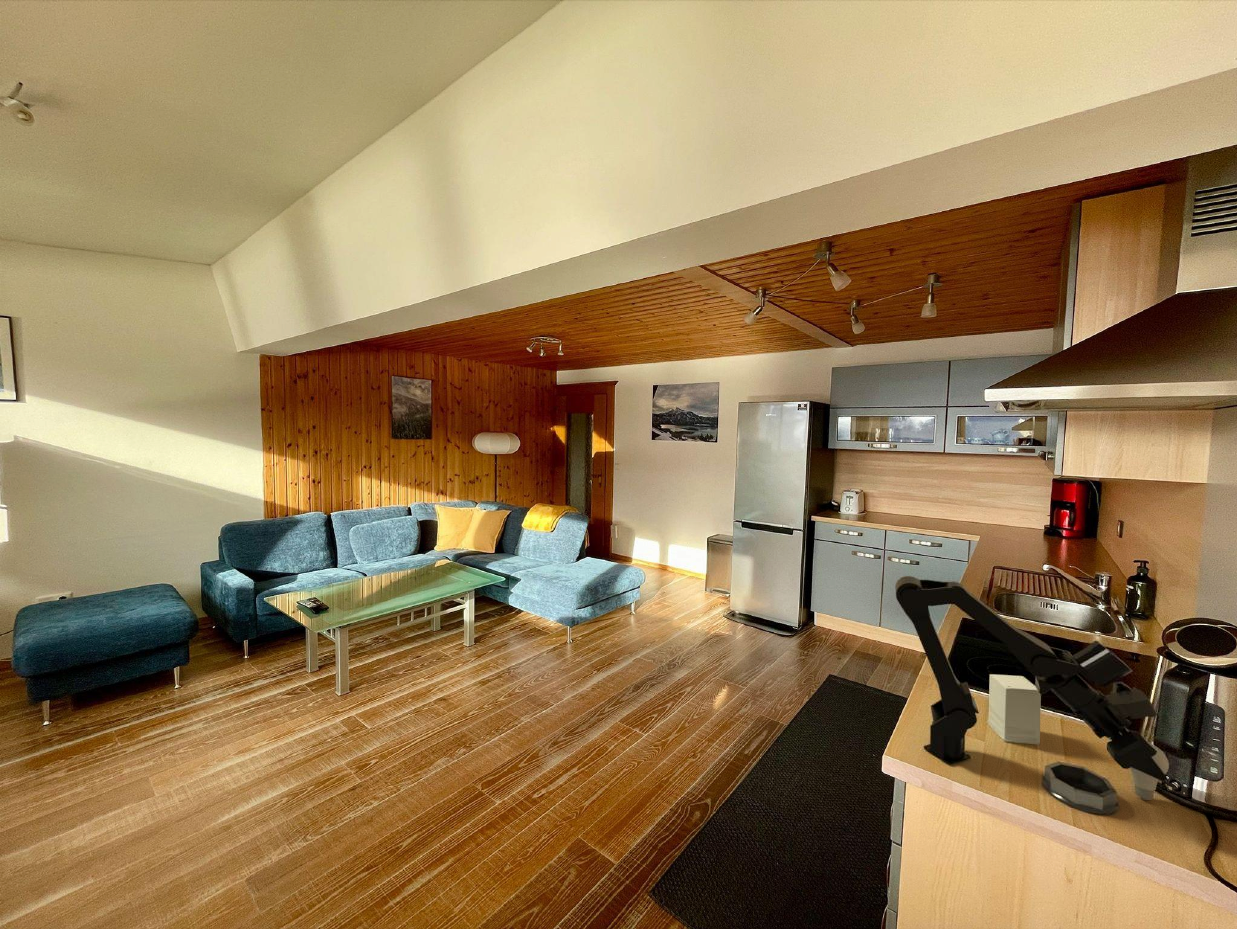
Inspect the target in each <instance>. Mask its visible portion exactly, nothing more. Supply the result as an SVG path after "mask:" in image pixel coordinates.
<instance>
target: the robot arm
mask: <svg viewBox="0 0 1237 929" xmlns="http://www.w3.org/2000/svg"><path fill="white" fill-rule="evenodd" d="M894 589H895V590H894V591H895V598H896V601H897V602H898V604H899V606H900V607H901V609H902V610H903V612H904V613H905V615H906V616H907V618H908V619H909V620H910V621H911V623H912V625H913V627H914V629H915V630H916V631H915V632H916V634H917V636H918V638H919V639H918V640H919V641H920V643H921V645H922V646H921V647H922V648H923V651H924V654H925V655H926V658H927V660H928V663H929V666H930V668H931V670H932V673H933V675H934V677H935V680H936V682H937V685H938V690H939V694H940V699H939V700H937V701H936V702H934V703H932V704H931V705H930V711H931V712H930V713H931V718H932V722H931V724H930V730H929V731H930V733H929V734H930V735H929V744H926V745H925V744H924V745H923V749H924V750H925V751H927V752H928V753H930V754H932V755H933V756H935V758H938V759H940V760H941V761H942V762H944V763H946V764H947V765H949V766H952V765H955V764H960V763H962V762H965V761H968V760H971V759H972V756H971V755H970V754H968V753H967V752H965V750H966V749H965V748H966V744H965V743H966V733H967V732H968V730H969V729H972V728H973V727H975V725H976V724H977V723H978V718H977V715H978V714H980V711H979V709H978V706H977V702H976V699H975V697H974V696H973V695H972V693H971V690H970V688H969V684H968V682H967V681H965V682H962V683H961V682H960V681H959V680H958V679H957V677H956V675H955V673H954V671H953V668H952V666H951V663H950V661H949V659H948V656H947V655H946V652H945V650H944V649H945V648H944V646H943V644H942V642H941V640H940V637H939V635H938V633H937V630H936V627H935V624H934V622H933V620H932V618H931V613H930V608H929V607H935V606H944V605H954V606H956V607H957V608H958V609H960V610H961V611H962V612H964V613H965V614H966V615H967V616H968V617H970V618H971V619H972V620H973V621H975V622H976V623H977V624H978V625H980V626H981V627H982V628H984V629H985V630H986V631H987V632H989V634H991V635H993V636H994V637H995V638H996V639H998V640H999V641H1000V642H1001V643H1003V645H1005V647H1007V649H1008V650H1009V651H1010V652H1011V653H1012V655H1013V656H1014V657H1015V658H1016V659H1017V660H1018V662H1020V664H1021V665H1022V666H1024V668H1025V669H1026V670H1027V671H1028V672H1029V673H1030V674H1032V675H1033V676H1034V678H1035V683H1034V685H1035V686H1036V688H1037V690H1038V692H1039V693H1040V694H1041V695H1044V694H1046V693H1047V692H1049V691H1051V692H1052V693H1054V694H1055V695H1056V696H1057V698H1059V699H1060V700H1061V702H1063V703H1064V704H1065V705H1066V706H1067V707H1068V708H1069V709H1070V710H1072V712H1073V713H1074V715H1075V716H1076V717H1077V718H1078V720H1080V721H1083V722H1084V723H1085V724H1086V725H1087V726H1088V727H1089V728H1090V730H1092V731H1093V733H1094V734H1095V735H1096V737H1098V738H1099V739H1102V738H1104V737H1105V738H1107V739H1109V741H1108V742H1106V751H1107V753H1108V754H1109V755H1110V757H1111V758H1112V759H1113V761H1115V763H1117V764H1118V765H1119V766H1120V767H1121V768H1122V769H1125V770H1128V769H1130V767H1131V768H1134V769H1136V770H1139V771H1141V772H1143V773H1145V774H1147V775H1150V776H1152V777H1154V778H1156V779H1158V781H1161V782H1164V781H1166V780H1168V777H1167V775H1166V774H1164V773H1163V771H1162V770H1161V769H1160V767H1159V766H1158V765H1157V764H1156V762H1155V761H1154V760H1153V758H1152V756H1154V755H1156V753H1157V751H1156V750H1155V748H1154V747H1153V746H1152V745H1153V744H1152V743H1151V742H1149V741H1148V740H1147V738H1146V737H1144V736H1143V735H1142V734H1141V733H1140V732H1137V731H1132V730H1130V729H1129V726H1130V725H1132V722H1131V721H1130V720H1135V719H1143V718H1155V717H1157V716H1158V713H1157V711H1156V709H1155V706H1154V705H1153V703H1152V701H1151V700H1150V698H1149V697H1148V696H1147V694H1145V692H1143V691H1142V689H1137V688H1136V687H1132V688H1131V687H1130V686H1128V685H1127V684H1125V682H1123V681H1118V680H1119V679H1121V678H1123V677H1125V676H1128V675H1129V674H1130V673H1133V670H1132V669H1131V668H1130V667H1129V666H1128V665H1127V664H1126V663H1125V662H1124V661H1123V660H1121V659H1120V658H1119V657H1118V656H1117V655H1116V654H1115V653H1114V652H1113V651H1112V650H1110V649H1108V648H1107V647H1106V646H1104V645H1103V644H1102V643H1101V642H1100V641H1099V640H1094V641H1092V642H1091V643H1090V644H1089V645H1087V646H1086V647H1084V648H1083V649H1082V650H1080V651H1078V652H1076V653H1075V654H1073V655H1072V654H1071V652H1070V651H1068V650H1066V649H1065V650H1064V649H1061V648H1056V647H1052V646H1049V645H1048V643H1045V641H1042V640H1041V639H1039V638H1037V637H1035V636H1034V635H1031V634H1030V633H1028V632H1026V631H1024V630H1021V629H1020V628H1017V627H1016V626H1014V625H1012V624H1011V623H1010V622H1008V620H1006V619H1005V618H1004V617H1002V616H1001V615H1000V614H998V612H996V611H995V610H993V609H992V608H991V607H990V606H988V605H986V603H985V602H983V601H982V600H981V599H979V598H978V597H976V596H975V595H974V594H973V593H972V592H970V591H969V590H968V589H966V588H965V586H964V585H963V583H960V582H958V581H942V580H934V579H919V578H916V577H914V576H911V575H907V576H905V575H904V576H902V577H900V578H899V579H898V580H897V581H896V583H895V588H894ZM1079 674H1081V675H1082V676H1083V677H1084V678H1085V679H1086V680H1087V681H1088V682H1089V683H1091V684H1092V685H1093V686H1095V685H1097V686H1098V687H1099V688H1102V687H1104V688H1105V687H1108V686H1109V685H1111V684H1112V690H1111V691H1109V692H1110V693H1109V694H1107V695H1106V694H1103V693H1102V692H1101V691H1100V690H1096V689H1094V688H1093V687H1092V686H1091V685H1090V684H1089V683H1087V682H1086V681H1085V680H1084V679H1083V678H1082V677H1081V676H1080V675H1079ZM976 714H977V715H976ZM1151 744H1152V745H1151Z"/></svg>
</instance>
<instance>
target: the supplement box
mask: <svg viewBox="0 0 1237 929" xmlns="http://www.w3.org/2000/svg"><path fill="white" fill-rule="evenodd" d="M988 682H989V689H988V691H989V692H988V694H989V696H988V726H989V727H991V729H992V730H993V731H994V732H995V733H996V734H997V735H998V736H999V737H1000V738H1001V740H1002V741H1003V742H1007V743H1017V744H1028V745H1040V744H1041V743H1040V742H1041V741H1040V740H1041V739H1040V737H1041V704H1042V703H1041V701H1042V698H1041V697H1042V694H1040V693H1039V692H1038V690H1037V688H1036V686H1035V684H1033V683H1032V682H1031V681H1030V680H1029V679H1027V678H1026V677H1025V676H1022V675H1010V674H1009V675H1008V674H993V673H992V674H989V680H988Z"/></svg>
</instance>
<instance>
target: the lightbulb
mask: <svg viewBox="0 0 1237 929" xmlns="http://www.w3.org/2000/svg"><path fill="white" fill-rule="evenodd" d="M1150 744H1151V745H1152V746H1153V747H1154V748H1155V750H1156V751H1157V753H1156V755H1154V756H1152V758H1153V760H1154V761H1155V762H1156V764H1157V765H1158V766H1159V767H1160V769H1161V770H1162V771H1163V773H1164V774H1165V775H1166V774H1167V772H1168V771H1169V768H1170V765H1169V764H1170V763H1169V760H1168V758H1167V756H1166V755H1165V753H1164V752H1163V750H1161V749H1160V748H1159V747H1157V746H1156V745H1154V744H1152V743H1150ZM1129 770H1130V772H1131V776H1132V777H1131V778H1132V783H1133V785H1134V786H1133V787H1134V790H1133V791H1134V793H1135V795H1137V796H1138V797H1139V798H1140V799H1141V800H1144V801H1150V800H1154V796H1155V790H1156V789H1157V785H1158V782H1159V780H1158V779H1156V778H1154V777H1152V776H1150V775H1147V774H1145V773H1143V772H1141V771H1139V770H1136V769H1134V768H1131V767H1130V768H1129Z"/></svg>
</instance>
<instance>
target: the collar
mask: <svg viewBox="0 0 1237 929" xmlns="http://www.w3.org/2000/svg"><path fill="white" fill-rule="evenodd" d="M1041 784H1042V787H1043V789H1044V790H1045V791H1046V793H1048V794H1049V795H1050V796H1051V797H1052V798H1054V799H1055V800H1057V801H1058V802H1060V803H1062V804H1064V805H1065V806H1068V807H1070V808H1073V809H1075V810H1077V811H1080V812H1083V813H1085V814H1086V813H1087V814H1090V815H1096V816H1112V815H1115V814H1116V813H1117V812H1119V802H1118V800H1117V793H1118V792H1117V791H1116V789H1115V788H1114V786H1113V784H1111V782H1110V781H1109V779H1108V778H1106V777H1104V776H1102V775H1101V774H1098V773H1096V772H1094V771H1093V770H1091V769H1089V768H1087V767H1085V766H1081V765H1078V764H1072V763H1066V762H1062V761H1056V762H1053V763H1050V764H1047V765H1044V775H1043V776H1042V778H1041Z"/></svg>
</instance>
